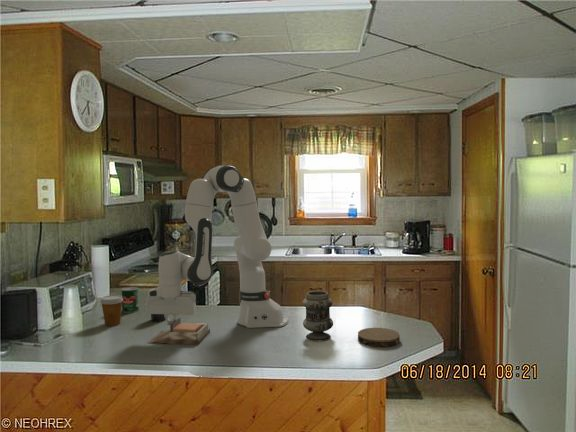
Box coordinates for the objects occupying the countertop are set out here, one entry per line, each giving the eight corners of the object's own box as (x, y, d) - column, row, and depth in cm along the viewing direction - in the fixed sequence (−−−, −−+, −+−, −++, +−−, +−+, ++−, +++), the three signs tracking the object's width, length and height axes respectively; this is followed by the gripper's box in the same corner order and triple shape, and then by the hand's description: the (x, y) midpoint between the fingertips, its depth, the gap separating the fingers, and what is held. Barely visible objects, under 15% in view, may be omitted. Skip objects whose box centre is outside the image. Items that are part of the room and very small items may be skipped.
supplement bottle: (168, 317, 225) (167, 292, 224) (163, 321, 218) (162, 295, 217) (154, 317, 226) (153, 291, 225) (148, 321, 219) (147, 295, 218)
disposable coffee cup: (128, 321, 219) (127, 295, 219) (114, 327, 210) (113, 300, 210) (111, 320, 223) (110, 294, 222) (96, 326, 214) (95, 299, 213)
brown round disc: (350, 343, 187) (350, 335, 187) (368, 332, 200) (368, 325, 200) (389, 351, 178) (389, 343, 178) (405, 339, 191) (405, 331, 191)
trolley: (201, 332, 198) (201, 318, 197) (194, 338, 190) (194, 324, 189) (178, 331, 199) (178, 318, 199) (170, 337, 191) (170, 323, 191)
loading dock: (210, 334, 202) (209, 322, 202) (199, 347, 187) (198, 334, 187) (161, 333, 205) (160, 321, 204) (146, 345, 190) (145, 332, 190)
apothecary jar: (317, 330, 202) (316, 287, 201) (339, 337, 194) (339, 292, 192) (296, 337, 194) (296, 293, 193) (319, 344, 185) (318, 297, 184)
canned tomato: (123, 313, 233) (122, 291, 232) (120, 309, 240) (120, 287, 239) (140, 311, 237) (139, 289, 236) (137, 307, 244) (136, 286, 243)
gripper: (198, 289, 197) (198, 323, 198) (149, 288, 199) (150, 321, 200) (193, 293, 191) (193, 327, 192) (143, 292, 193) (144, 326, 194)
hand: (171, 324), depth 196 cm, fingers closed
